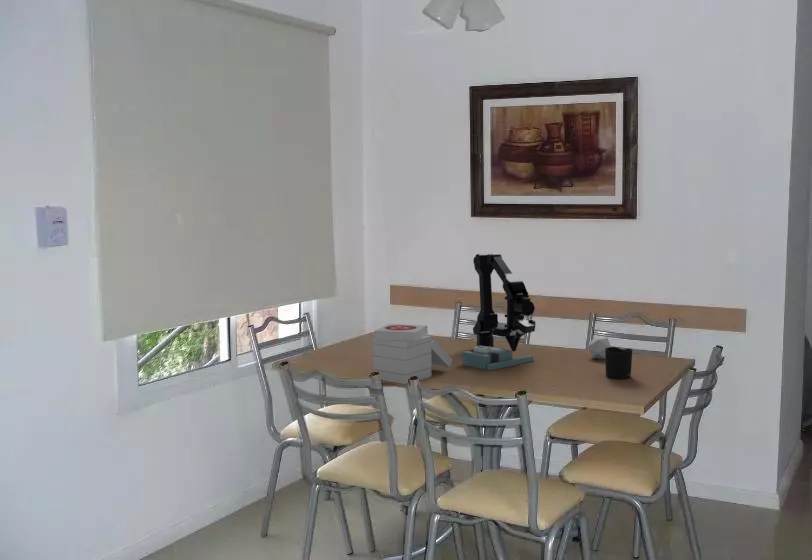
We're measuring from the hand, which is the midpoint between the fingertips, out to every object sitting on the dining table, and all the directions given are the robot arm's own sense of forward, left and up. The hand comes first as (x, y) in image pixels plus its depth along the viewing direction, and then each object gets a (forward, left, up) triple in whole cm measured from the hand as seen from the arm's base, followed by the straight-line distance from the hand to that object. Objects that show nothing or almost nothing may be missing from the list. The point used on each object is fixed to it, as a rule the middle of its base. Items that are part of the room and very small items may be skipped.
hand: (513, 351), depth 354 cm
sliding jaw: (0, -12, -3) cm, 12 cm away
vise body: (+1, -11, -3) cm, 11 cm away
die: (+23, +25, -3) cm, 34 cm away
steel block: (0, -18, -3) cm, 18 cm away
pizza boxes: (-7, -48, -3) cm, 49 cm away
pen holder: (+47, +3, -3) cm, 47 cm away
